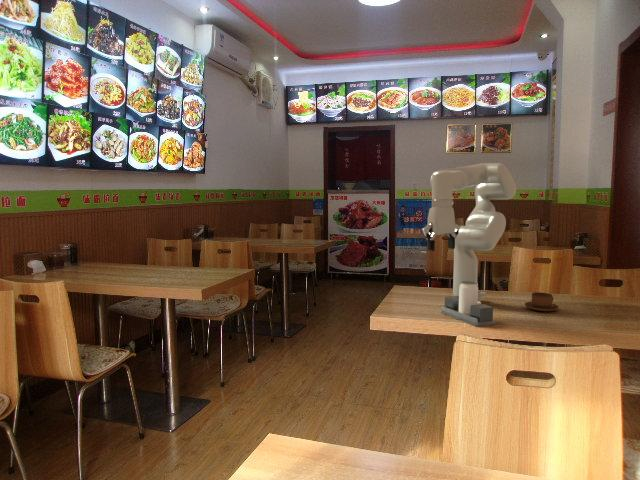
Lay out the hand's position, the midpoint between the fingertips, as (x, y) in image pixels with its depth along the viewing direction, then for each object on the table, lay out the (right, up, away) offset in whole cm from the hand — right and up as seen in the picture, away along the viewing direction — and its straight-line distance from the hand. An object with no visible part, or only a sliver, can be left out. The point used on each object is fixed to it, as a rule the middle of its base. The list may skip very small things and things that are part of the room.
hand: (441, 249), depth 190 cm
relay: (+12, -24, +1) cm, 27 cm away
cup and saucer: (+40, -24, +5) cm, 47 cm away
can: (+7, -24, -9) cm, 26 cm away
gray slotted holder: (+7, -25, -9) cm, 27 cm away
